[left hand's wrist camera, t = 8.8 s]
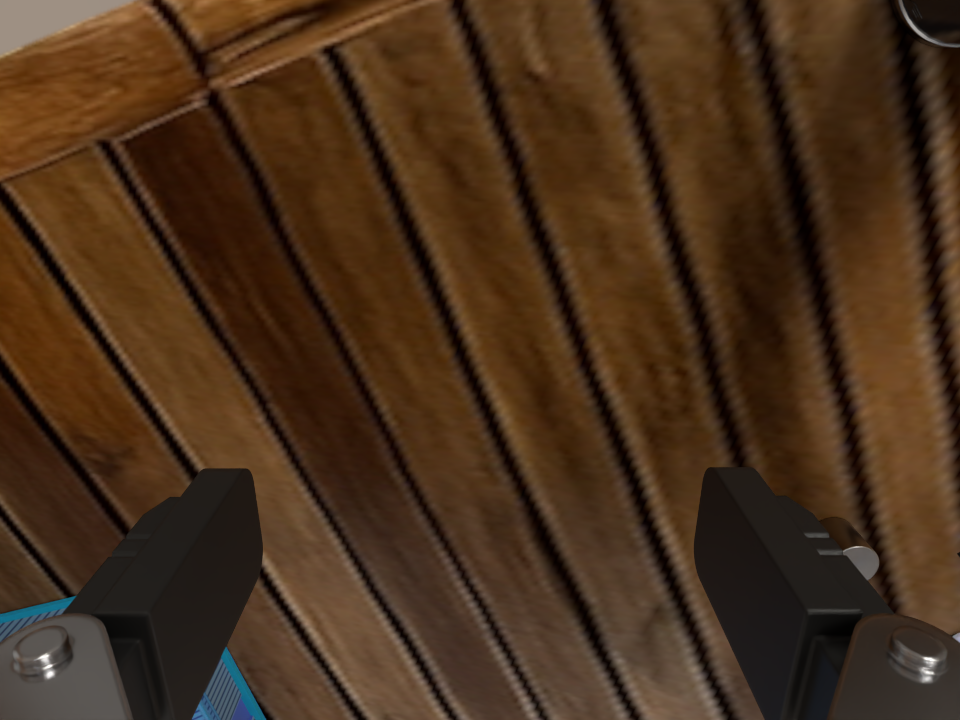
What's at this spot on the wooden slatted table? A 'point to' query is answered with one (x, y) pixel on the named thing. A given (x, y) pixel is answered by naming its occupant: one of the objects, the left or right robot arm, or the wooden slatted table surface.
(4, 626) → the model building
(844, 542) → the can
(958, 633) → the right robot arm
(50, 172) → the wooden slatted table surface
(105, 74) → the wooden slatted table surface
